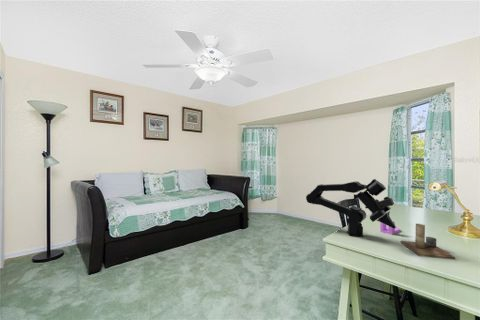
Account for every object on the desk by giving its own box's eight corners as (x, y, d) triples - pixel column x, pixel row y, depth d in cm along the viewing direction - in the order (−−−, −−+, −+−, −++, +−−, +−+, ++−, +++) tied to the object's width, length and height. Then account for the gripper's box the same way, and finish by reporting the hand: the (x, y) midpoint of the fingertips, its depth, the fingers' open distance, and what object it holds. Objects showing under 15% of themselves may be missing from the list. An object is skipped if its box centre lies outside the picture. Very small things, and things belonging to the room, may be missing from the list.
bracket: (391, 235, 116) (391, 222, 116) (380, 232, 121) (380, 219, 121) (401, 230, 123) (402, 218, 123) (390, 228, 128) (390, 216, 128)
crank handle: (429, 243, 101) (429, 222, 101) (438, 246, 98) (438, 224, 98) (413, 245, 98) (413, 223, 98) (421, 249, 95) (422, 226, 95)
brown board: (418, 255, 91) (418, 253, 91) (400, 242, 105) (400, 240, 105) (455, 259, 88) (455, 256, 88) (432, 245, 102) (432, 243, 102)
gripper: (378, 193, 100) (407, 222, 93) (386, 189, 114) (412, 214, 106) (359, 207, 106) (385, 236, 98) (369, 202, 119) (392, 227, 112)
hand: (395, 227), depth 103 cm, fingers closed
